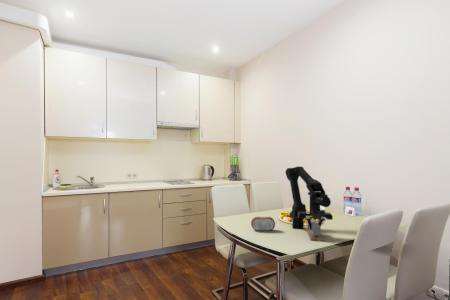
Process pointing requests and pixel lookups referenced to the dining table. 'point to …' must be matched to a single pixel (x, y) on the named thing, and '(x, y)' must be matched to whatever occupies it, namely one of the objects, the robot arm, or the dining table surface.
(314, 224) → the plug
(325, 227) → the dining table surface
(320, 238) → the header board
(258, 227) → the tin
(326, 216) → the robot arm
